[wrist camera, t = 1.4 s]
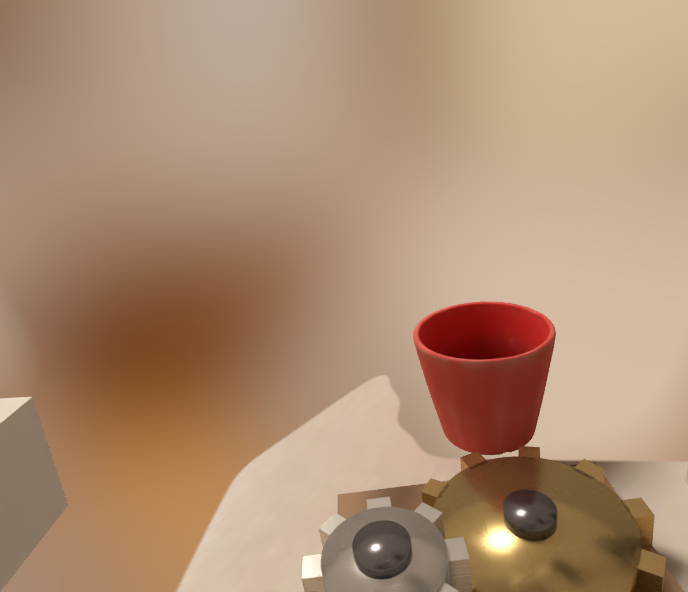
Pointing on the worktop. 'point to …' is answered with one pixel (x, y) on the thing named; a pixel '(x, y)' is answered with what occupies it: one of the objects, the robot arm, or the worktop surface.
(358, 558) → the grey pinion
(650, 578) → the brass gear
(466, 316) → the flower pot
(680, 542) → the worktop surface
